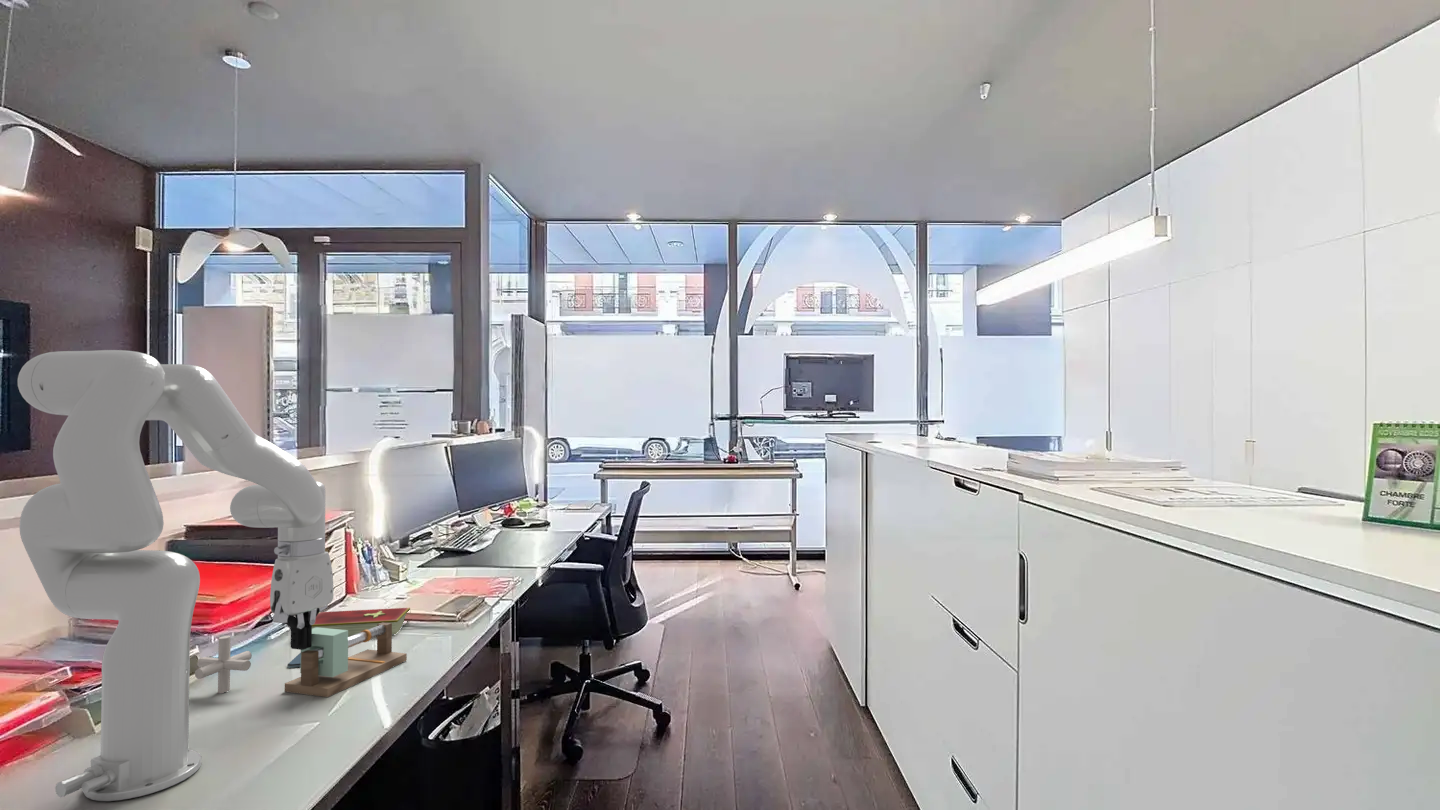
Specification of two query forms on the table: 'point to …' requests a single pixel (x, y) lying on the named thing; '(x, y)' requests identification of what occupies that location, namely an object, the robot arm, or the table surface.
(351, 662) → the rod stand
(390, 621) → the hardcover book
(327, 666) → the collar
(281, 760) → the table surface
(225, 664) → the pipe connector
